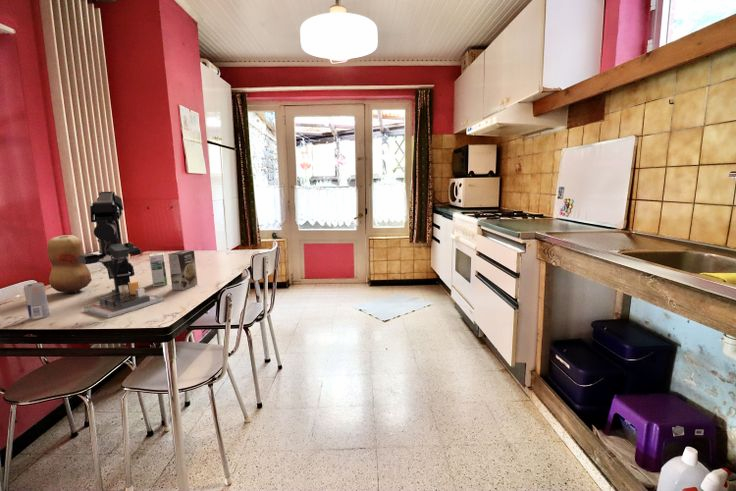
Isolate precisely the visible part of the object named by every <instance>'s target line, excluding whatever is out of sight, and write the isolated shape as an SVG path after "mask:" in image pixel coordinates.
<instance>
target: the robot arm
mask: <svg viewBox="0 0 736 491" xmlns="http://www.w3.org/2000/svg"><path fill="white" fill-rule="evenodd" d="M98 195H99V196H98V197H96V201H93V202H92V203H91V205H90V206H89V210H90V211H89V213H90V222H91V223H96V226H95V227H94V228H93V235H94V236H95V237H96V238H97V243H99V247H100V250H98V253H99V254H96V253H85V254H84V255H80V256H79V257H78V261H79V263H82V264H86V265H92V264H96V263H101V264H102V265H103V266H104V267H105V268H106V271H107V275H108V279H109V280H113V283H114V289H111V292H113V293H119V286H121V285H128V290H129V284H128V282H131V278H130V277H133V276H135V269H134V266H133V265H132V263H131V262H130V261H129V258H128V257H129V255H132V256H139V255H142V250H141V249H142V248H140V247H139V246H134V244H133V242H126V243H123V241H122V234H121V228H120V226H121V225H120V219H121V217H122V215H123V211H124V205H123V204H124V203H123V200H122V197H120V196H118V195H117V194H116V193H115V192H114V191H100V192H98ZM129 291H130V290H129Z"/></svg>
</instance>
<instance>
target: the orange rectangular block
mask: <svg viewBox="0 0 736 491" xmlns="http://www.w3.org/2000/svg"><path fill="white" fill-rule="evenodd" d="M128 284H129V291H130V294H135V290H136V289H139V288H140V287H139V281H136V280H133V281H130V282H128Z"/></svg>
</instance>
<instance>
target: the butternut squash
mask: <svg viewBox="0 0 736 491" xmlns="http://www.w3.org/2000/svg"><path fill="white" fill-rule="evenodd" d="M46 247H47V256H48V259H49V262H50V264H51V270H50V274H49V276H48V277H49V279H48V281H49V285H50V286H51V288H52V289H53V290H55V291H56V292H59V293H60V292H61V293H67V294H72V293H78V292H79V291H81V290H82V289H85V288H87V287H88V286H89V284H90V283H91V282H92V280H93V279H92V275H91V272H90V269H89V268H88V266H87V264H82V263H79V261H78V257H79V256H80V255H84V249H83V243H82V240H81V239H80V238H79V237H77V236H76V235H73V234H67V235H66V234H65V235H64V234H63V235H58V236H55V237H52V238H50V239H49V240H48V242H47V244H46Z"/></svg>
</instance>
